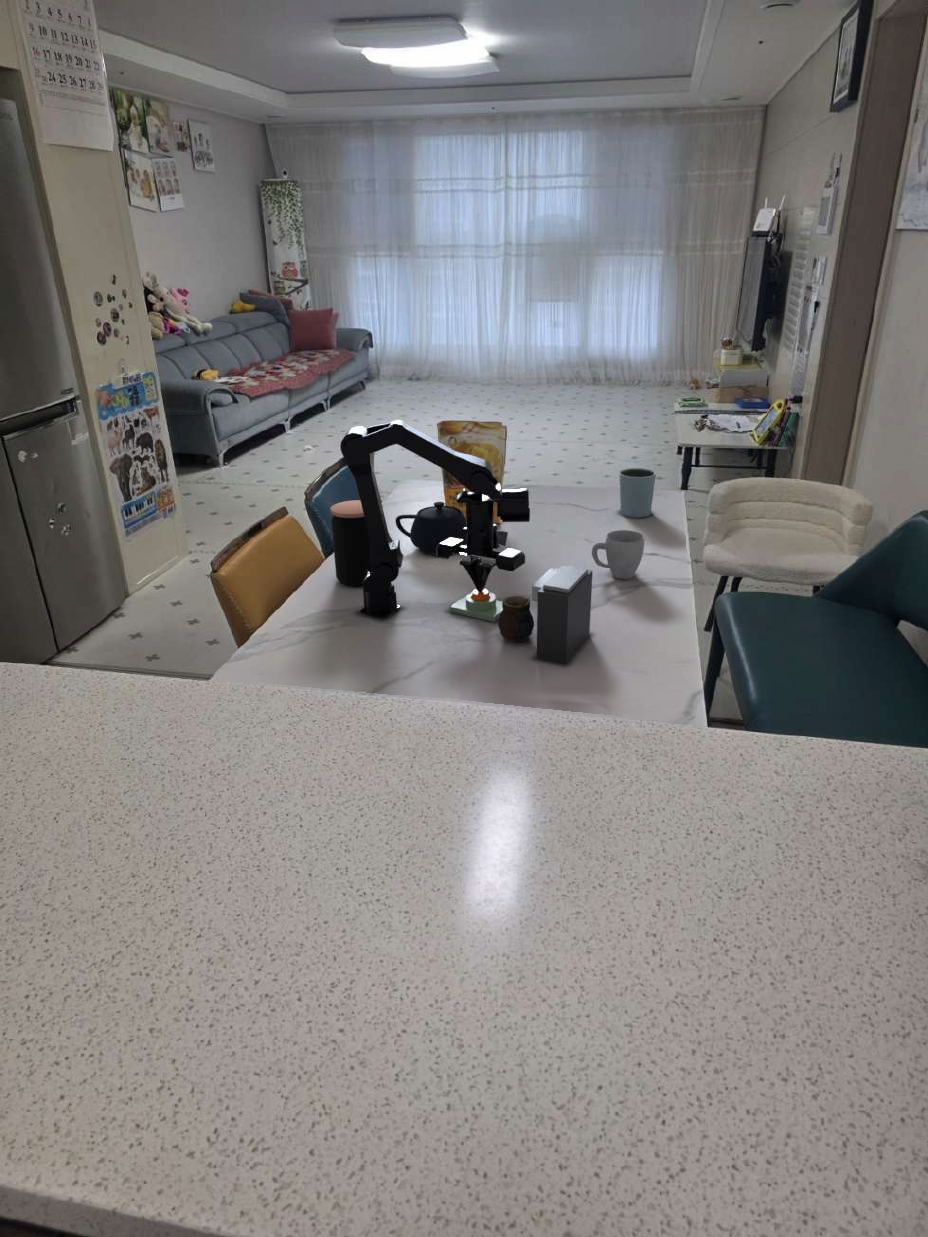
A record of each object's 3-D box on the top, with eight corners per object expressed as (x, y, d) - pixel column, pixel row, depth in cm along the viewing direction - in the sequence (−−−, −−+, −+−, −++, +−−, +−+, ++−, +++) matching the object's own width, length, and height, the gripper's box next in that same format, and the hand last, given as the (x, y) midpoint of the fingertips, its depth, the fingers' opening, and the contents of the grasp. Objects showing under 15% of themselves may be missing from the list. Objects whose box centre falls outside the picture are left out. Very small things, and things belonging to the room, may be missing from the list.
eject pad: (449, 611, 178) (449, 598, 177) (468, 598, 184) (468, 586, 183) (494, 622, 173) (493, 609, 172) (512, 608, 179) (512, 595, 178)
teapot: (389, 556, 209) (387, 510, 204) (403, 536, 223) (401, 492, 218) (487, 560, 205) (486, 513, 200) (495, 539, 219) (495, 495, 214)
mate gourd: (514, 626, 171) (515, 581, 167) (542, 637, 166) (543, 591, 162) (490, 637, 166) (490, 591, 162) (518, 649, 162) (519, 602, 157)
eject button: (469, 600, 177) (469, 592, 176) (477, 594, 180) (477, 587, 179) (483, 603, 175) (483, 596, 175) (492, 597, 178) (492, 590, 177)
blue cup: (655, 518, 233) (659, 476, 228) (619, 518, 233) (622, 477, 228) (648, 507, 242) (652, 467, 237) (614, 507, 243) (616, 467, 238)
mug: (638, 567, 199) (641, 529, 195) (644, 581, 191) (647, 542, 187) (588, 568, 200) (590, 530, 196) (592, 581, 192) (594, 542, 188)
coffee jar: (390, 575, 198) (385, 503, 190) (367, 591, 189) (361, 516, 182) (352, 569, 202) (346, 498, 194) (327, 584, 193) (320, 510, 186)
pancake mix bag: (442, 515, 239) (439, 418, 228) (507, 518, 235) (507, 420, 224) (436, 522, 233) (433, 423, 222) (503, 526, 230) (503, 425, 218)
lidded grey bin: (526, 656, 159) (527, 585, 152) (552, 627, 170) (554, 560, 164) (565, 664, 155) (568, 592, 149) (589, 634, 167) (592, 566, 160)
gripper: (537, 517, 172) (536, 586, 179) (461, 505, 181) (462, 571, 187) (512, 533, 163) (512, 605, 170) (433, 519, 172) (436, 588, 179)
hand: (480, 591), depth 177 cm, fingers closed
